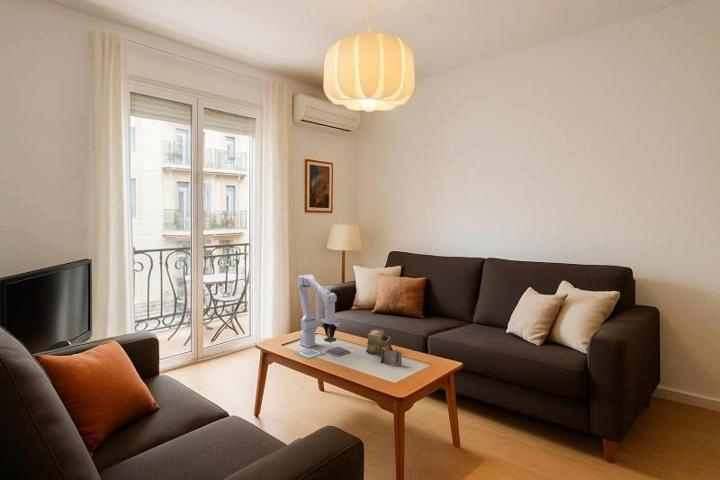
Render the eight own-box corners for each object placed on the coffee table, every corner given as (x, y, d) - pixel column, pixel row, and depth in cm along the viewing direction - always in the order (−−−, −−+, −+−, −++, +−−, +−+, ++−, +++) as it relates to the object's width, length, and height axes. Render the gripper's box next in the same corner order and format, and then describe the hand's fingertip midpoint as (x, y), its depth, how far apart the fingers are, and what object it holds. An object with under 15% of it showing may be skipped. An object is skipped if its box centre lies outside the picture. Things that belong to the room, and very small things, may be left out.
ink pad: (324, 352, 250) (324, 350, 250) (338, 348, 258) (338, 345, 258) (337, 356, 243) (337, 354, 242) (350, 352, 250) (350, 350, 250)
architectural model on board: (380, 363, 233) (380, 346, 232) (383, 362, 235) (383, 345, 235) (399, 367, 227) (399, 349, 226) (401, 365, 229) (401, 348, 229)
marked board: (293, 353, 248) (293, 352, 248) (311, 348, 258) (311, 347, 258) (308, 359, 239) (308, 358, 238) (326, 353, 248) (326, 353, 248)
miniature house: (364, 354, 246) (364, 335, 245) (369, 347, 260) (369, 329, 259) (389, 356, 242) (389, 337, 242) (393, 349, 256) (393, 330, 255)
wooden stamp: (324, 340, 249) (324, 328, 249) (330, 339, 253) (330, 326, 253) (330, 342, 246) (330, 330, 245) (336, 340, 250) (336, 328, 249)
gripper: (343, 314, 246) (343, 337, 247) (326, 310, 256) (326, 332, 257) (334, 316, 241) (334, 340, 242) (317, 312, 251) (318, 334, 252)
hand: (329, 336), depth 249 cm, fingers closed on wooden stamp, 3 cm apart
